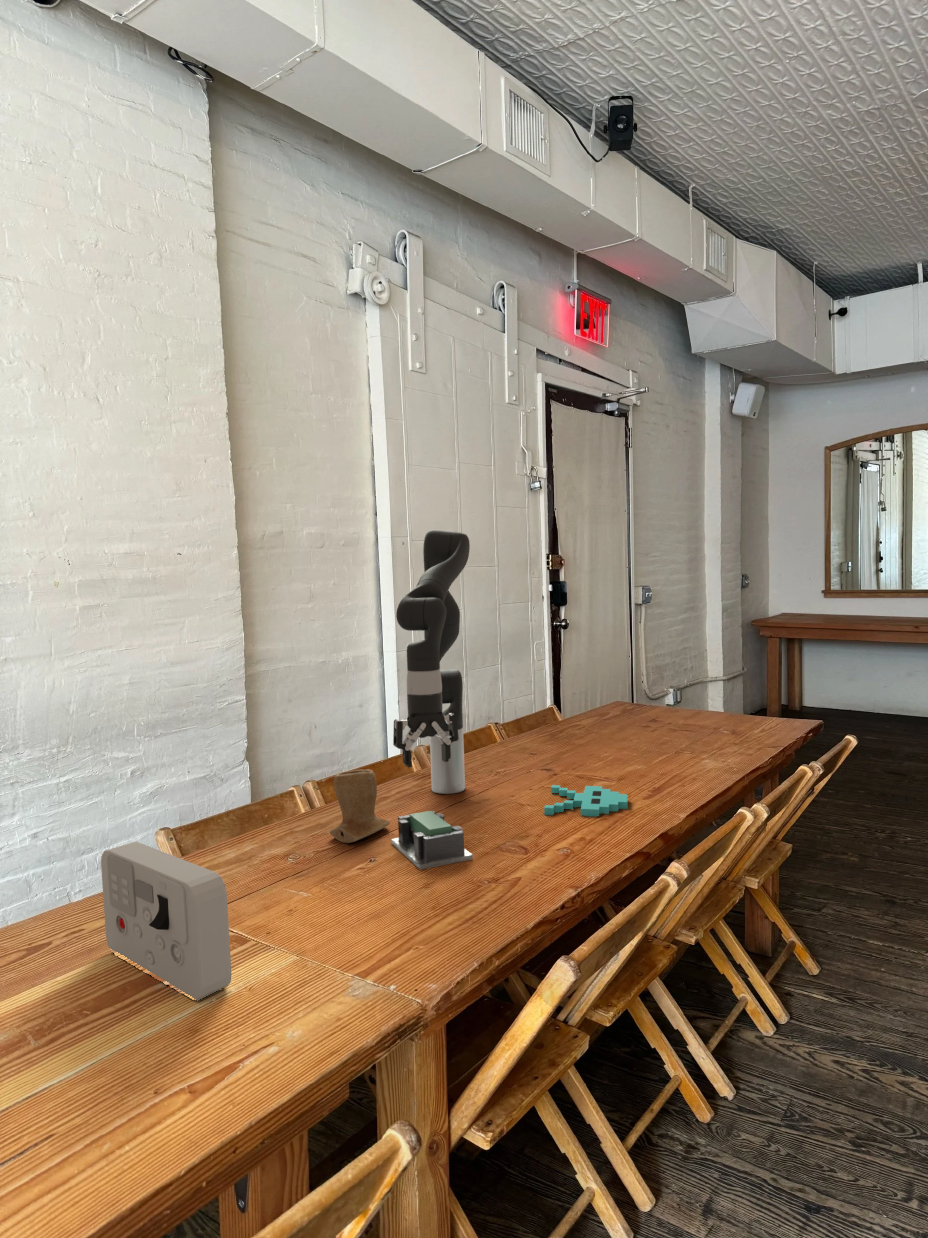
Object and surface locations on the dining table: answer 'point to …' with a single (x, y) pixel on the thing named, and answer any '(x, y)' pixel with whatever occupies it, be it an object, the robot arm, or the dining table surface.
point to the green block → (429, 824)
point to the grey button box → (167, 917)
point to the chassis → (430, 845)
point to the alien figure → (588, 801)
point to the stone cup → (357, 805)
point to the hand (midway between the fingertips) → (427, 764)
